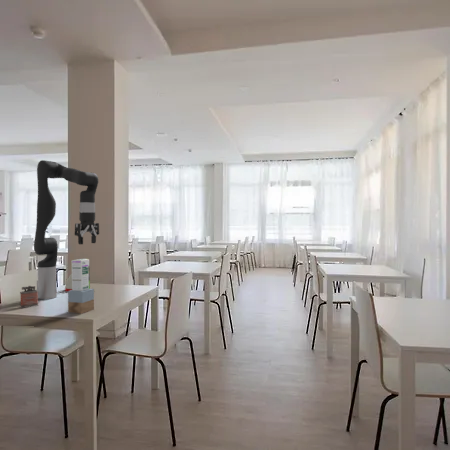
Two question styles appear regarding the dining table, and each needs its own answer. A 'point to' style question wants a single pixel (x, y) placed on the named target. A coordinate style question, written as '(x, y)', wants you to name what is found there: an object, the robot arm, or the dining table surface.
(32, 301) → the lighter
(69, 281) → the kitchen timer
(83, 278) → the syrup box
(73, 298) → the tower top block
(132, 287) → the dining table surface
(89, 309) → the tower bottom block
